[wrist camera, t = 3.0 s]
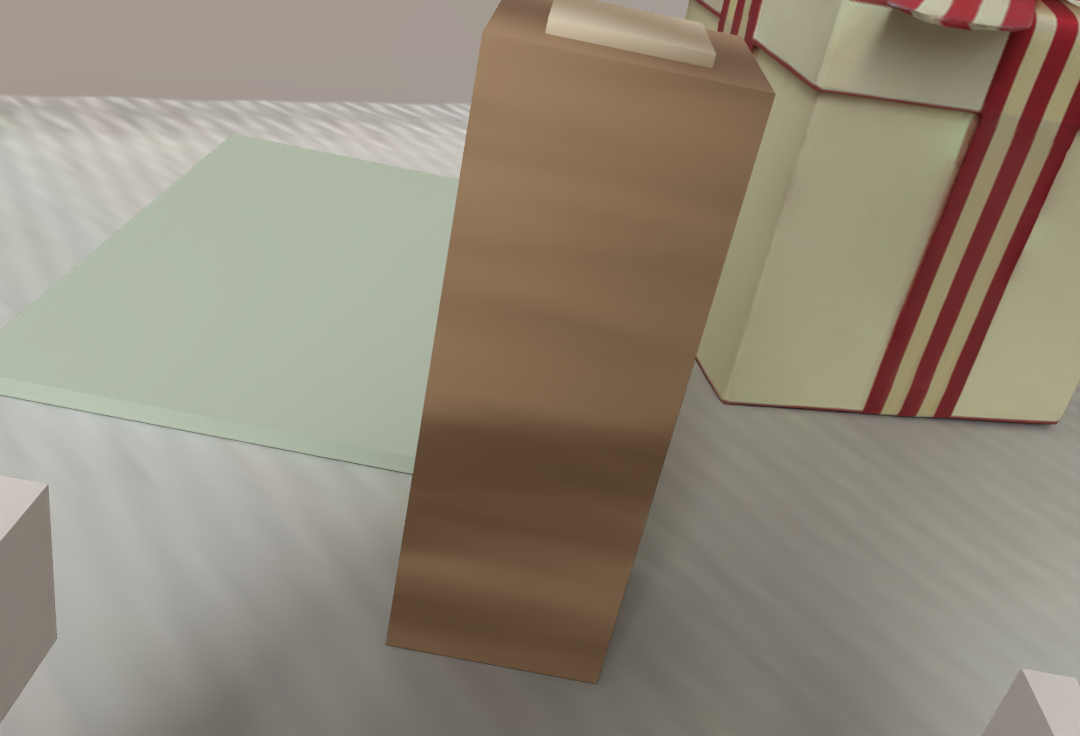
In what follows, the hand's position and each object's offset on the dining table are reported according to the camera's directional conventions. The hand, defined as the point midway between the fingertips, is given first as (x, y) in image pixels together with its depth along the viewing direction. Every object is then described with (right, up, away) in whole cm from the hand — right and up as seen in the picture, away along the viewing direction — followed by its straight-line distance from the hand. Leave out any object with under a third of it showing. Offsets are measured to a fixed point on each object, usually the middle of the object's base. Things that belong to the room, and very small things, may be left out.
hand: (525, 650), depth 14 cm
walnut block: (-1, -2, +12) cm, 12 cm away
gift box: (+11, +5, +30) cm, 32 cm away
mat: (-9, +8, +26) cm, 28 cm away
